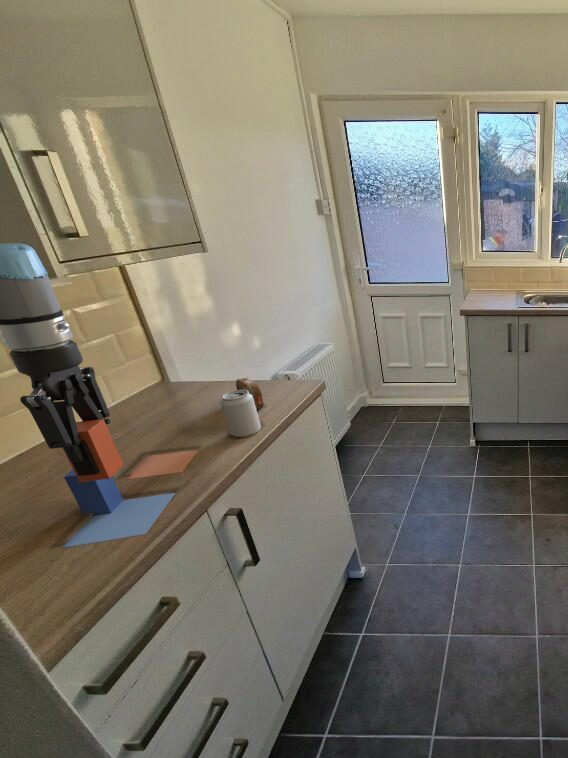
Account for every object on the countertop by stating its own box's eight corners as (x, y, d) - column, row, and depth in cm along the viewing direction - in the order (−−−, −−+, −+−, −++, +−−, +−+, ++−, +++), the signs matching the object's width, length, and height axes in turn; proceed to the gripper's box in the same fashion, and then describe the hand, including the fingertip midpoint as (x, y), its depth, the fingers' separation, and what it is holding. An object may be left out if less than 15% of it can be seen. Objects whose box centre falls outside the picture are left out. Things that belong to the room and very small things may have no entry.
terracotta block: (79, 482, 74) (55, 434, 70) (95, 468, 78) (73, 421, 74) (109, 478, 75) (87, 431, 71) (123, 464, 79) (103, 419, 75)
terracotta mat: (122, 481, 96) (121, 480, 96) (144, 457, 105) (144, 456, 104) (182, 473, 99) (181, 471, 99) (199, 451, 108) (198, 449, 107)
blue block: (84, 517, 84) (63, 476, 80) (98, 503, 88) (78, 464, 84) (111, 513, 85) (91, 473, 81) (123, 499, 89) (105, 460, 85)
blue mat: (56, 550, 77) (56, 548, 77) (99, 505, 88) (99, 503, 88) (145, 535, 80) (145, 534, 80) (176, 494, 92) (175, 492, 92)
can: (267, 426, 119) (257, 389, 114) (248, 440, 112) (236, 400, 108) (245, 424, 120) (233, 387, 115) (224, 437, 114) (211, 398, 109)
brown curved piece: (239, 400, 135) (232, 376, 131) (249, 397, 137) (243, 373, 134) (257, 414, 126) (250, 389, 123) (268, 411, 128) (261, 386, 125)
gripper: (29, 361, 60) (93, 491, 69) (103, 328, 75) (147, 438, 85) (-38, 365, 58) (37, 499, 67) (52, 330, 73) (103, 443, 83)
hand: (98, 465), depth 76 cm, fingers closed on terracotta block, 4 cm apart
